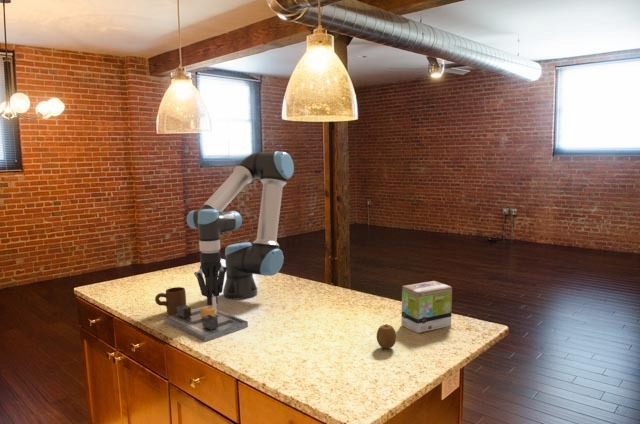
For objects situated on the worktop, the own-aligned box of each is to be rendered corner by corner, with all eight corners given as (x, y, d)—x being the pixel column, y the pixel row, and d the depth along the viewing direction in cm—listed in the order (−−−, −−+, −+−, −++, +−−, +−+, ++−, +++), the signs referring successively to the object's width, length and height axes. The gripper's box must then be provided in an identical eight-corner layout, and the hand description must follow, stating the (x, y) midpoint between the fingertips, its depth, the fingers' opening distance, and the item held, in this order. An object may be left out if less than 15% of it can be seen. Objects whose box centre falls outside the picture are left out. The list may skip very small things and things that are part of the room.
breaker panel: (205, 310, 191) (205, 296, 190) (248, 326, 171) (247, 311, 170) (164, 322, 178) (163, 307, 177) (204, 341, 158) (203, 325, 158)
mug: (159, 319, 181) (158, 295, 180) (153, 314, 187) (151, 291, 186) (189, 312, 188) (188, 289, 187) (182, 308, 194) (181, 285, 193)
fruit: (383, 354, 145) (382, 329, 144) (373, 346, 151) (372, 322, 150) (400, 350, 148) (400, 325, 147) (389, 343, 154) (389, 319, 153)
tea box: (418, 334, 160) (419, 292, 159) (400, 325, 169) (400, 285, 167) (452, 326, 167) (452, 285, 165) (433, 317, 176) (433, 279, 174)
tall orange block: (207, 315, 178) (207, 306, 177) (215, 318, 174) (214, 309, 174) (200, 317, 176) (200, 308, 175) (208, 320, 172) (207, 311, 172)
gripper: (219, 247, 181) (222, 306, 184) (188, 252, 172) (192, 315, 174) (230, 249, 176) (233, 310, 178) (200, 255, 166) (203, 319, 169)
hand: (213, 312), depth 176 cm, fingers closed
